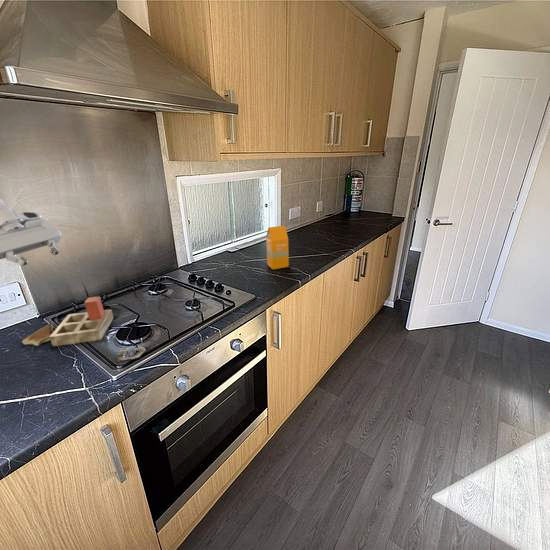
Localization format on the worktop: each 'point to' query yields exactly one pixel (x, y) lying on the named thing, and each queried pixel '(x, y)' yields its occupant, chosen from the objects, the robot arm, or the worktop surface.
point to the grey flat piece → (130, 353)
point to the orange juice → (277, 247)
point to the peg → (94, 308)
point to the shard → (39, 335)
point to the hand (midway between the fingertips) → (41, 258)
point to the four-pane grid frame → (81, 328)
